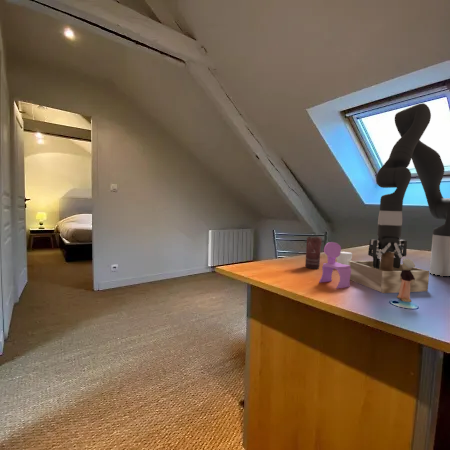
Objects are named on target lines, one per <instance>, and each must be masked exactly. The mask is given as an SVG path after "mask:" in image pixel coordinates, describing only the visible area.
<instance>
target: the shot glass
mask: <svg viewBox="0 0 450 450" xmlns="http://www.w3.org/2000/svg"><path fill="white" fill-rule="evenodd" d="M352 259H353V252H350V251H342V250H341V252H340V255H339V256H338V257H336V262H337V263H340V264H344V265H349V261H352Z"/></svg>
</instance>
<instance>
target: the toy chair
mask: <svg viewBox="0 0 450 450" xmlns="http://www.w3.org/2000/svg"><path fill="white" fill-rule="evenodd" d="M341 251H342V247H341V245H340V244H339V243H337V242H334V241H329V242H327V243H326V244H325V245H324V247H323V252H324V253H323V254H325V255H326V256H327V257H326V259H327V262H325V263H324V262H323V264H322V266H321V267H322V269H321V270H322V274H321V278H320V279H319V280H318V283H327V282H332V281H333V279H332V276H333V272H334V270H336V271H337V272H338V275H339V281H338V284H337V285H336V289H343V288H349V287H350V285H351V283H350V282H351V280H350V275H351V268H350V267H351V266H349V265H344V264H340V263H337V261H336V260H337V257H338V256H339V255H340V252H341Z"/></svg>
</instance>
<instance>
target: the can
mask: <svg viewBox="0 0 450 450" xmlns="http://www.w3.org/2000/svg"><path fill="white" fill-rule="evenodd" d="M322 241H323V240H322V238H321V237H319V236H307V238H306V247H305V248H306V249H305V264H304V265H305V268H307V269H310V270H311V269H313V270H318V269H319V268H320V265H321V262H320V261H321V249H322V248H321V247H322Z"/></svg>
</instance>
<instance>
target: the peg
mask: <svg viewBox="0 0 450 450" xmlns="http://www.w3.org/2000/svg"><path fill="white" fill-rule="evenodd" d="M380 261H381V265H380V270H382V271H393V261H394V252H385V253H384V254H382V255H381V257H380Z"/></svg>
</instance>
